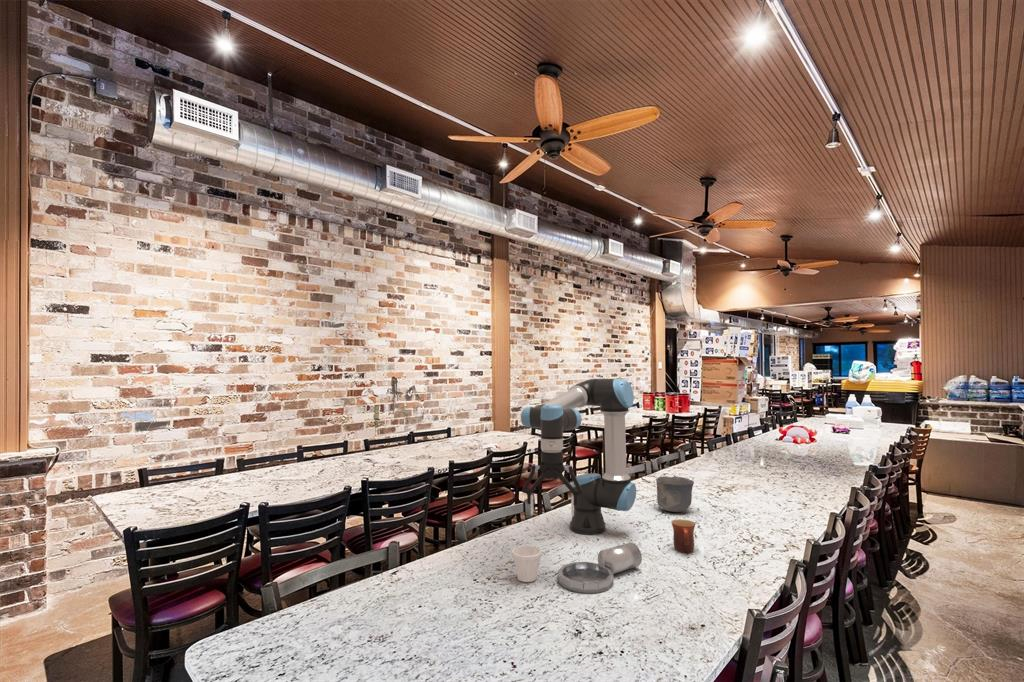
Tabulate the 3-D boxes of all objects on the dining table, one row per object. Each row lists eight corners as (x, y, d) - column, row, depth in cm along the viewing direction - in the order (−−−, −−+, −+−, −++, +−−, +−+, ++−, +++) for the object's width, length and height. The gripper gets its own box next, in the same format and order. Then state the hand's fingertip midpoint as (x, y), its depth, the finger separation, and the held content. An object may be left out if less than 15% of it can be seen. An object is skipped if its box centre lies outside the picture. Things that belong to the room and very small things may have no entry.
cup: (545, 575, 169) (545, 547, 169) (537, 587, 160) (537, 558, 160) (517, 571, 172) (517, 543, 173) (507, 583, 163) (507, 554, 163)
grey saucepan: (582, 599, 151) (582, 572, 152) (547, 578, 167) (546, 553, 167) (653, 575, 168) (652, 550, 168) (615, 557, 183) (614, 535, 184)
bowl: (699, 509, 242) (698, 478, 243) (690, 519, 228) (689, 486, 228) (662, 504, 252) (661, 474, 253) (651, 513, 237) (651, 481, 238)
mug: (670, 545, 196) (670, 518, 196) (694, 546, 194) (693, 519, 194) (674, 556, 184) (673, 528, 184) (699, 558, 182) (698, 529, 182)
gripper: (514, 451, 167) (514, 516, 166) (589, 453, 165) (590, 519, 163) (516, 448, 175) (516, 510, 174) (588, 449, 172) (589, 512, 171)
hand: (552, 514), depth 168 cm, fingers open, 13 cm apart
